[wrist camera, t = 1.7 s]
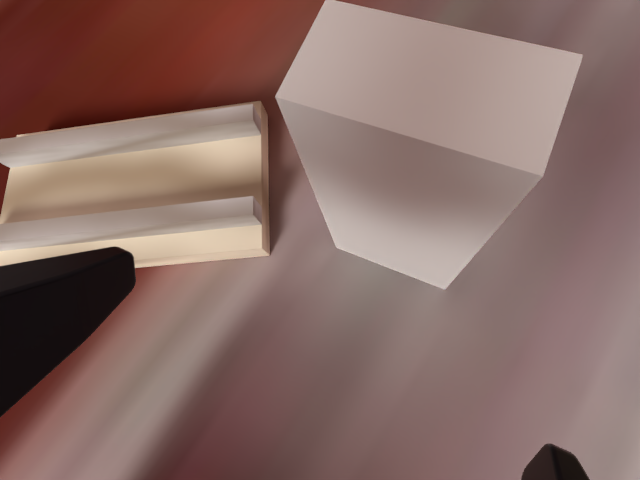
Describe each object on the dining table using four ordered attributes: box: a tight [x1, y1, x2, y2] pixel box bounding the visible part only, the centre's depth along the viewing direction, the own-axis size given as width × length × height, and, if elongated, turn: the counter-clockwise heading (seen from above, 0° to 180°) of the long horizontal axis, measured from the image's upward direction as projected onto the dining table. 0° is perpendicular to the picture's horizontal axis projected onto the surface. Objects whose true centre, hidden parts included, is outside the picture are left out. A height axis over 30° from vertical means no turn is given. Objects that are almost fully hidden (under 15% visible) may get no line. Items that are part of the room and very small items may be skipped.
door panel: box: [275, 0, 583, 290], centre depth 15 cm, size 3×6×13 cm, turn 67°
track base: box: [0, 101, 270, 268], centre depth 23 cm, size 9×16×3 cm, turn 94°
